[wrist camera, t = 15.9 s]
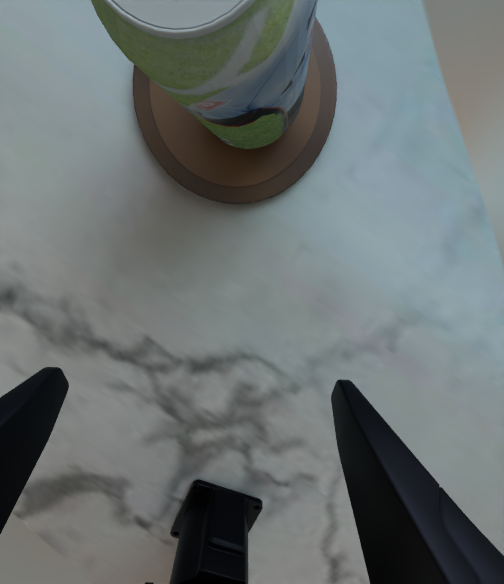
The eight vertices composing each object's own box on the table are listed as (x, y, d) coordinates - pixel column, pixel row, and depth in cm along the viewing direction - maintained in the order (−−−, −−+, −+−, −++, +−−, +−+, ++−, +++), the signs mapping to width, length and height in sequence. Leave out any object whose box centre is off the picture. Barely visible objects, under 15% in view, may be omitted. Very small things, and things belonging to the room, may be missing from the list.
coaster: (283, 233, 19) (284, 233, 18) (112, 156, 18) (106, 153, 17) (369, 41, 16) (375, 33, 16) (175, -67, 15) (172, -81, 14)
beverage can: (318, 111, 17) (487, -140, 5) (219, 186, 18) (165, 122, 6) (259, 4, 15) (298, -690, 4) (154, 92, 16) (-81, -233, 5)
